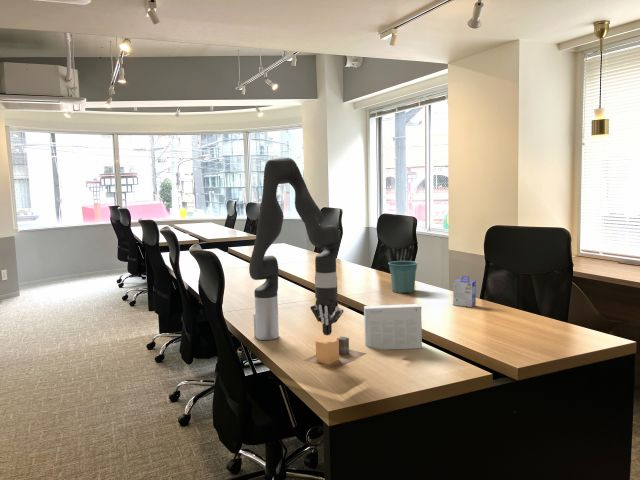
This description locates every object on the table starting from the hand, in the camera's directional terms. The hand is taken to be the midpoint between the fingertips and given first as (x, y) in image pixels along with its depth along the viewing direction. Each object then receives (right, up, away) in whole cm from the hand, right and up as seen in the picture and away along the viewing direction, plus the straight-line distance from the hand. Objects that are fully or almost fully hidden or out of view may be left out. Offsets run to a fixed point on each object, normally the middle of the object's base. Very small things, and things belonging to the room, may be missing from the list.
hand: (327, 334), depth 173 cm
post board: (+3, -10, +5) cm, 12 cm away
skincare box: (+25, -8, +18) cm, 32 cm away
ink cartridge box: (+69, 0, +78) cm, 104 cm away
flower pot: (+44, +3, +113) cm, 121 cm away
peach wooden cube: (0, -9, +1) cm, 9 cm away
